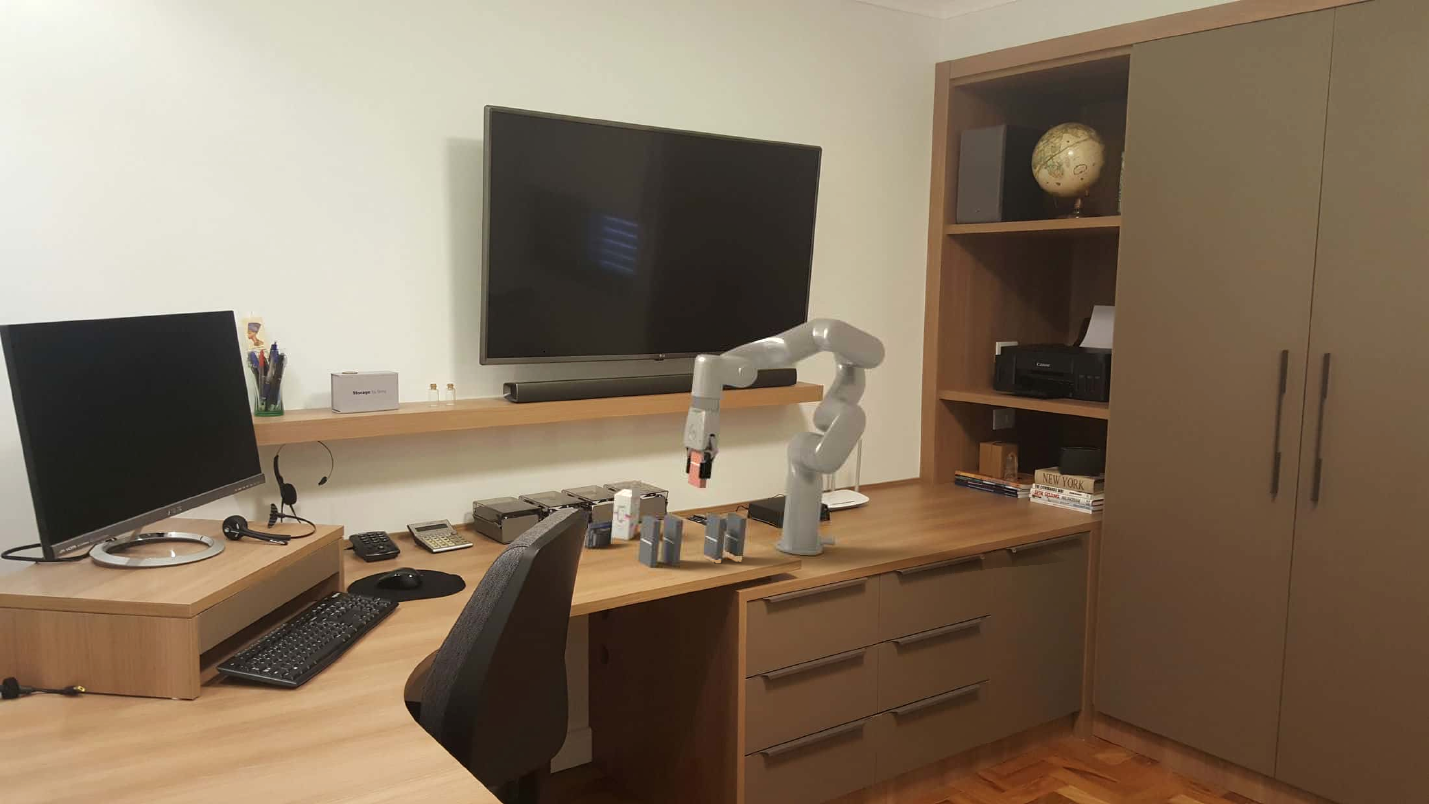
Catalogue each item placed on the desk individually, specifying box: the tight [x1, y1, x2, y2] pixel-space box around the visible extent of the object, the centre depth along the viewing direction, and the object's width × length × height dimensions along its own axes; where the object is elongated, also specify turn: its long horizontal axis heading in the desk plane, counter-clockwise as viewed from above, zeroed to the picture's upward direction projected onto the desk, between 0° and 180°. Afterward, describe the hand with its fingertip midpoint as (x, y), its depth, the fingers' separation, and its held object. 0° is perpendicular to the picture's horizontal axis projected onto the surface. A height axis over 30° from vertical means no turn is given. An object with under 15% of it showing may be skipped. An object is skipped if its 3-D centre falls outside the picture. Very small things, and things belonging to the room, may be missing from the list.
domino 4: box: [702, 513, 727, 560], centre depth 248 cm, size 2×6×11 cm, turn 31°
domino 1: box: [638, 515, 662, 569], centre depth 239 cm, size 2×6×11 cm, turn 31°
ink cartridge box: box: [611, 480, 642, 541], centre depth 264 cm, size 9×5×15 cm, turn 168°
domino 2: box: [660, 514, 684, 567], centre depth 242 cm, size 2×6×11 cm, turn 31°
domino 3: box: [687, 448, 710, 489], centre depth 252 cm, size 2×6×11 cm, turn 29°
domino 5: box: [723, 512, 748, 557], centre depth 251 cm, size 2×6×11 cm, turn 31°
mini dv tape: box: [583, 520, 613, 550], centre depth 252 cm, size 8×2×6 cm, turn 143°
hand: (698, 475), depth 252 cm, fingers closed on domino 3, 5 cm apart
